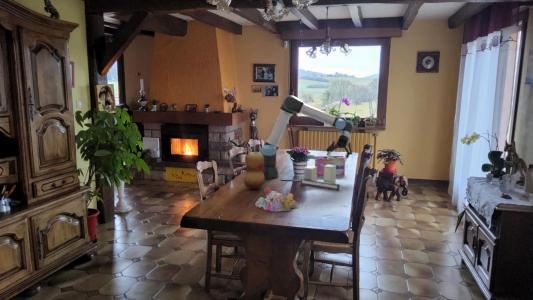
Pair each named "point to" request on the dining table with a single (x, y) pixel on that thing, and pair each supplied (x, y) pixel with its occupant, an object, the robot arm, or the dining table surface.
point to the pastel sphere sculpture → (276, 201)
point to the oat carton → (310, 173)
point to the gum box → (333, 160)
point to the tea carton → (330, 173)
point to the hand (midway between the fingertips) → (335, 160)
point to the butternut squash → (254, 170)
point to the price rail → (320, 184)
